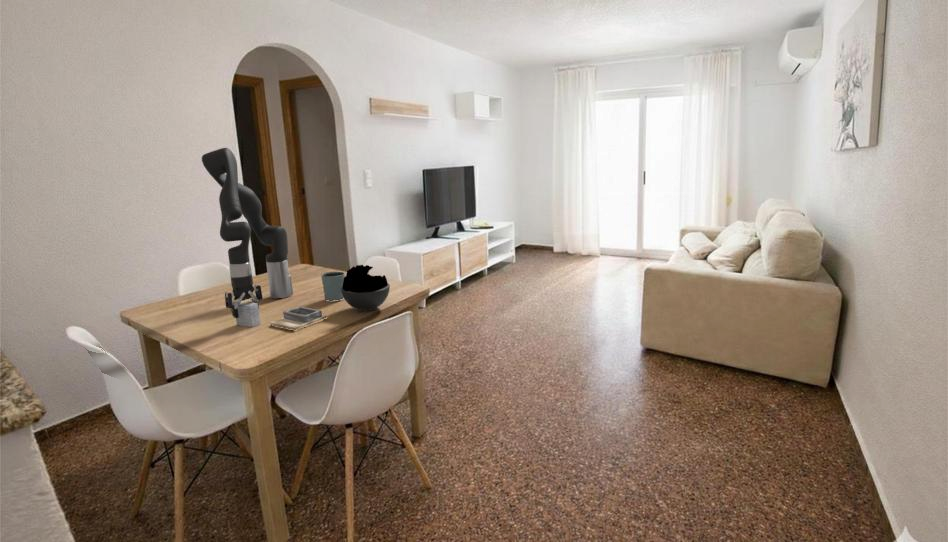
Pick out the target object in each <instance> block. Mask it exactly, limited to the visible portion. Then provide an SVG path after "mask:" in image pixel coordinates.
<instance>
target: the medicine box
mask: <svg viewBox="0 0 948 542" xmlns="http://www.w3.org/2000/svg"><path fill="white" fill-rule="evenodd" d="M258 304H259V302H258V303H252V301H251V302H249V301H241V303H240V304H239V305H238V307H237V309H238V314H239V318H235V320H236V326H237V325H240V326H239V327H247V326H249V327H248V328H254V326H255V327H257V326H258V324H259V325H260V323H261V317H260V311H259V310H260V308H259V309H258ZM261 324H262V323H261ZM256 325H257V326H256Z"/></svg>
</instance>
